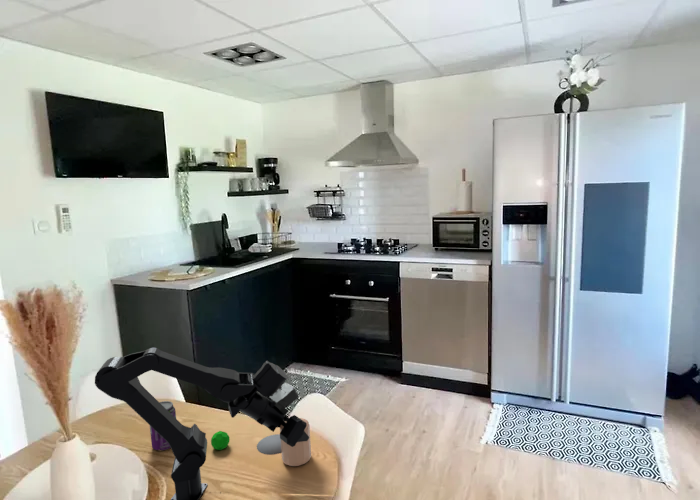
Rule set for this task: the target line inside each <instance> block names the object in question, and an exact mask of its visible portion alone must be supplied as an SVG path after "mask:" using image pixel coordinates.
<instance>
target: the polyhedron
mask: <svg viewBox="0 0 700 500" xmlns="http://www.w3.org/2000/svg"><path fill="white" fill-rule="evenodd" d="M230 440H231V439H230V436H229V434H228V433H227V432H226V431H221V430H219V431H217V432H215V433H213V435H212V436H211V439H210V445H211V446H212V448H213V450H217V451H218V450H219V451H222V450H224V449H225V448H227V447H228V445H229V444H230Z"/></svg>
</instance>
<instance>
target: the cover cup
mask: <svg viewBox="0 0 700 500" xmlns="http://www.w3.org/2000/svg"><path fill="white" fill-rule="evenodd" d="M299 418H300V419H301V420H303V421H304V422H306V423H307V426H306V428H305V430H304V431H305V432H306V434H307V435H308V436H309V439H308V441H303V442H297V443H296V445H295V446H293V447H291V446H290V445H288V444H287V443H285V442H284V441H283V440H282V439H281V452H282V453H281V460H282V462H283V464H285V465H288V466H290V467H298V466H302V465H304V464H306V463H308V461H310V460H311V457H312V449H311V447H312V446H311V430H310V429H311V428H310V424H309V421H308V420H307V419H306V418H302V417H299ZM285 422H286V421H285ZM282 429H283V426H282V425H281V426H280V428H279V433H280V432H281V431H282Z"/></svg>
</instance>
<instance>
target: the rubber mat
mask: <svg viewBox="0 0 700 500" xmlns="http://www.w3.org/2000/svg"><path fill="white" fill-rule="evenodd" d="M256 449H257V451H258V452H259V453H261V454H263V455H267V456H268V455H271V456H273V455H278V454H282V452H281V439H280V433H277V434H270V435H268V436H265V437H263V438H262V439H260V440H259V441H258V443H257V444H256Z"/></svg>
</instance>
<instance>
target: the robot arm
mask: <svg viewBox="0 0 700 500" xmlns="http://www.w3.org/2000/svg"><path fill="white" fill-rule="evenodd" d="M150 371H154V372H155V373H159V374H162V375H165V376H168V377H171V378H174V379H177V380H179V381H182V382H184V383H189V384H192V385H194V386H197V387H200V388H202V389H203V390H204V391H205V392H207V393H208V394H210V395H211V396H212V397H213V398H216V399H218V400H220V401H221V402H224V403H227V404H228V409H227V410H228V411H229V414H230V417H231V418H235V417H236V416H237V415H238V414H239V413H240V412H241V413H242V414H244V415H246V416H247V417H248V418H249V417H250V418H251V419H252V420H254V421H255V422H257V423H258V424H259V425H261V426H264V427H266V428H268V429H269V430H270V431H271V432H273V433H274V432H275V430H276V429H278V428H279V429H280V426H281V425H282V426H283V429H282V431H281V432H280V431H279V434H280V439H282V440H283V441H284V442H285V443H287V444H288V445H290V446H291V447H293V446H295V445H296V443H297V442H303V441H308V439H309V436H308V435H307V434H306V432H305V431H304V430H305V428H306V426H307V423H306V422H304V421H303V420H301V419H300V418H301V417H299V416H297V415H295V414H293V415H292V416H289V417H288V416H286V415H287V414H288V412H289V409H287V408H288V407H290V406H291V404H292V403H294V402H295V401H297V400H298V399H299V397H300V395H299V394H298V391H296V389H295V387H294V386H293V385H292V384H290V383H288V382H286V381H287V380H288V379H289V377H288V374H287V373H286V372H285V371H284V370H283V369H282V368H281V367H280V366H279V365H277V364H274V363H273V362H270V361H269V360H265V362H263V364H262V366H261V367H260V368H259V369H258V370H257V371H256V373H253V372H239V371H237V370H235V369H230V368H227V367H226V368H225V367H211V366H210V367H208V366H205V365H203V364H200V363H197V362H195V361H190V360H188V359H185V358H183V357H180V356H177V355H175V354H171V353H169V352H165V351H163V350H161V349H159V348H157V347H150V348H147V349H146V350H142V351H137V352H133V353H130V354H126V355H125V356H114V357H110V358H108V359H107V360H106V361H105V362H104V363H103V364H102V366H101V367H100V368H99V369H98V371H97V372H96V374H95V376H94V386H95V387H96V388H97V390H99V391H101V392H102V393H104V394H105V395H107V396H108V397H110V398H112V399H115V400H119V401H121V402H124V403H126V404H127V405H128V407H130V408H131V410H133V411H134V412H135V413H136V414H137V415H138V416H139V417H141V418H142V419H143V421H145V423H147V424H148V425H149V427H150V426H151V427H152V428H153V429H154V430H155V431H156V432H157V433H158V434H160V435H161V436H162V437H163V438H164V439H165V440H166V441H167V442H168V443H169V445H170V447H171V448H170V449H171V452H172V453H173V457H174V459H173V464H172V469H171V474H170V478H171V479H172V481H173V483H174V492H175V493H174V494H173V496H172V497H171V499H170V500H200V498H201V497H202V496H203V494H204V493H205V491H206V489H207V488H208V483H207V482H206V483H204V482H202V476H201V475H202V473H201V467H203V465H204V464H205V463H206V461H207V451H208V439H207V437H206V435H207V433H206V432H204V431H202V430H201V429H200V428H199V426H198V425H197V424H196V423H193V424H192V426H191V427H189V426H186V425H185V424H182V423H181V422H180V421H179V420H178V419H177V417H176V418H175V417H174V416H173V415H172V414H171V413H170V412H169V411H168V410H167V409H166V408H165V407H164V406H162V405H161V404H160V403H159V402H160V401H158V399H157V398H156V397H155V396H153V394H151V393H150V392H149V391H148V390H147V389H146V388H145V387H144V386H143V385H142V383H141V382H140V380H139V379H140V378H139V377H140V376H141V375H143V374H146V373H147V372H150ZM285 421H286V422H285Z"/></svg>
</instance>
